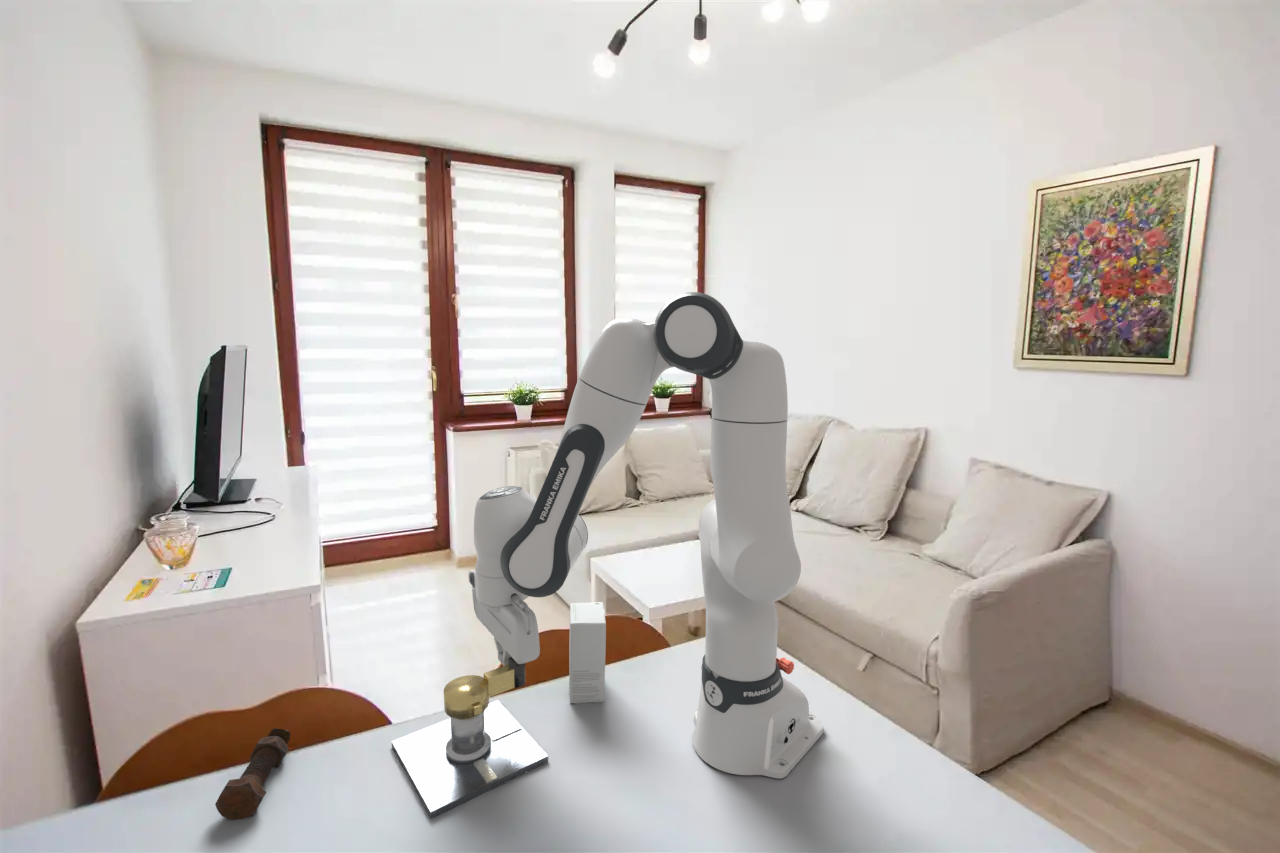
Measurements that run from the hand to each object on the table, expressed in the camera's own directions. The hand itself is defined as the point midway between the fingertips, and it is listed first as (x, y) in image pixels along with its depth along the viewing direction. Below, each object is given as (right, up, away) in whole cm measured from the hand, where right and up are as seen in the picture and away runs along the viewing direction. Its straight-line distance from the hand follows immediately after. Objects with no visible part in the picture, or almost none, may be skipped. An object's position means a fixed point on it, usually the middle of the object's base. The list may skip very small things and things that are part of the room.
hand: (506, 663), depth 100 cm
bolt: (-33, -13, -12) cm, 37 cm away
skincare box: (+13, -9, +10) cm, 19 cm away
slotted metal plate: (-4, -12, -7) cm, 14 cm away
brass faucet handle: (-2, -3, -6) cm, 7 cm away
